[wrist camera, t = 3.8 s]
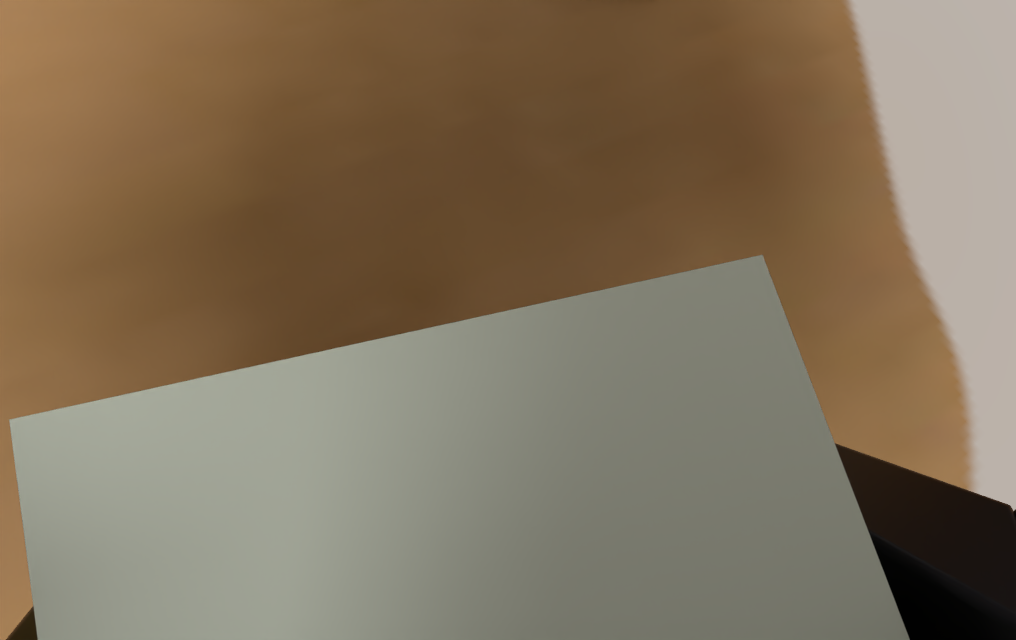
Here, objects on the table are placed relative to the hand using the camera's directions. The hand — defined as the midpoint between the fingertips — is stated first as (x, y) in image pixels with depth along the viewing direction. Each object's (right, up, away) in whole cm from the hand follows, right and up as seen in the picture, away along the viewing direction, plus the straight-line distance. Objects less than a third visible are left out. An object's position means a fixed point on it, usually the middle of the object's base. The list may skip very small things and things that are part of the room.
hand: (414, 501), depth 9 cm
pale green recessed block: (-1, -4, +7) cm, 8 cm away
